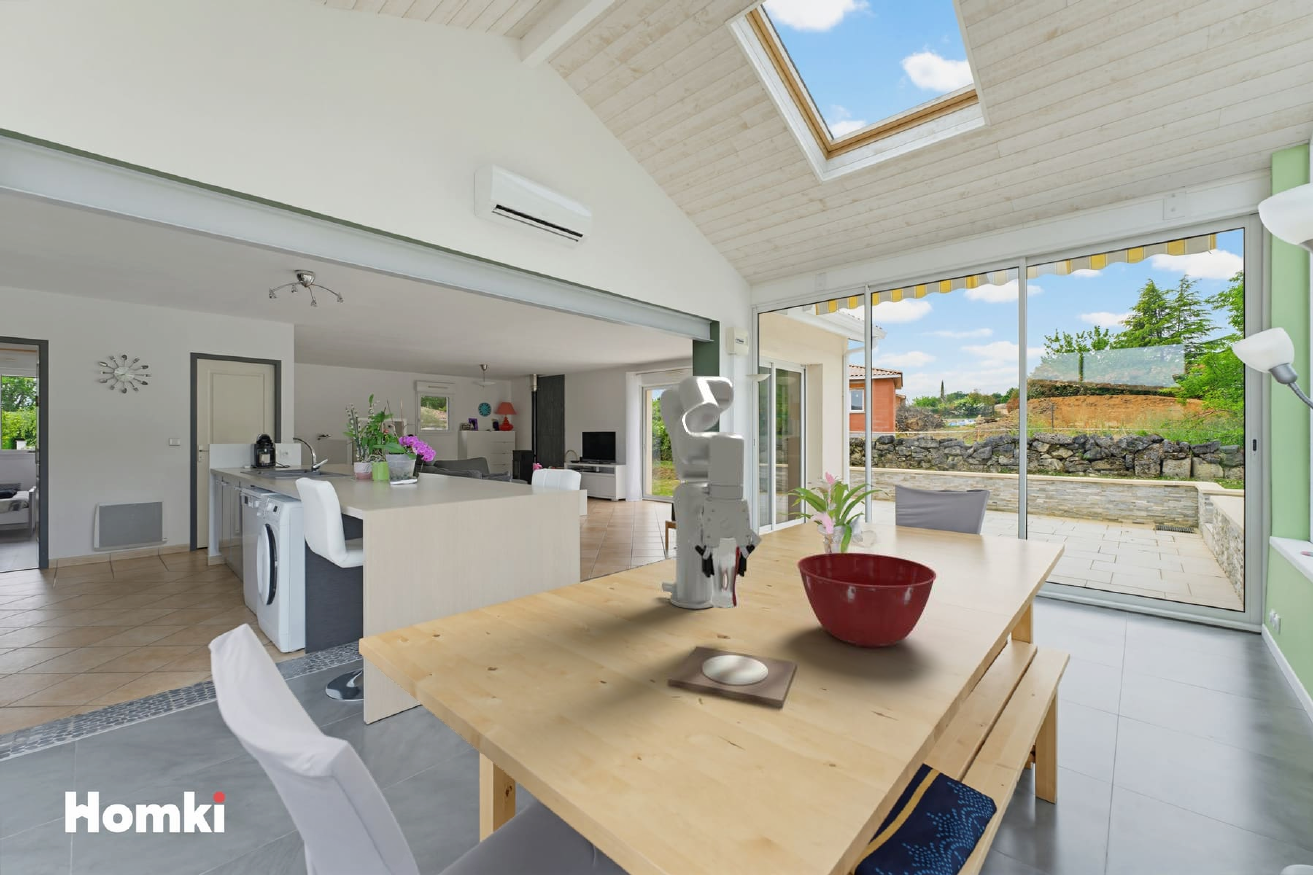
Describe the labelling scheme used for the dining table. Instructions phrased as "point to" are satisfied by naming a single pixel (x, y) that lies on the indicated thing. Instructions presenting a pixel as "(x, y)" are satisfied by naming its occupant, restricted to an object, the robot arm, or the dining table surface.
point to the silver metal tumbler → (725, 573)
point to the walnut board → (735, 676)
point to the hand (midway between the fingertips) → (724, 574)
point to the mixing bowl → (866, 595)
